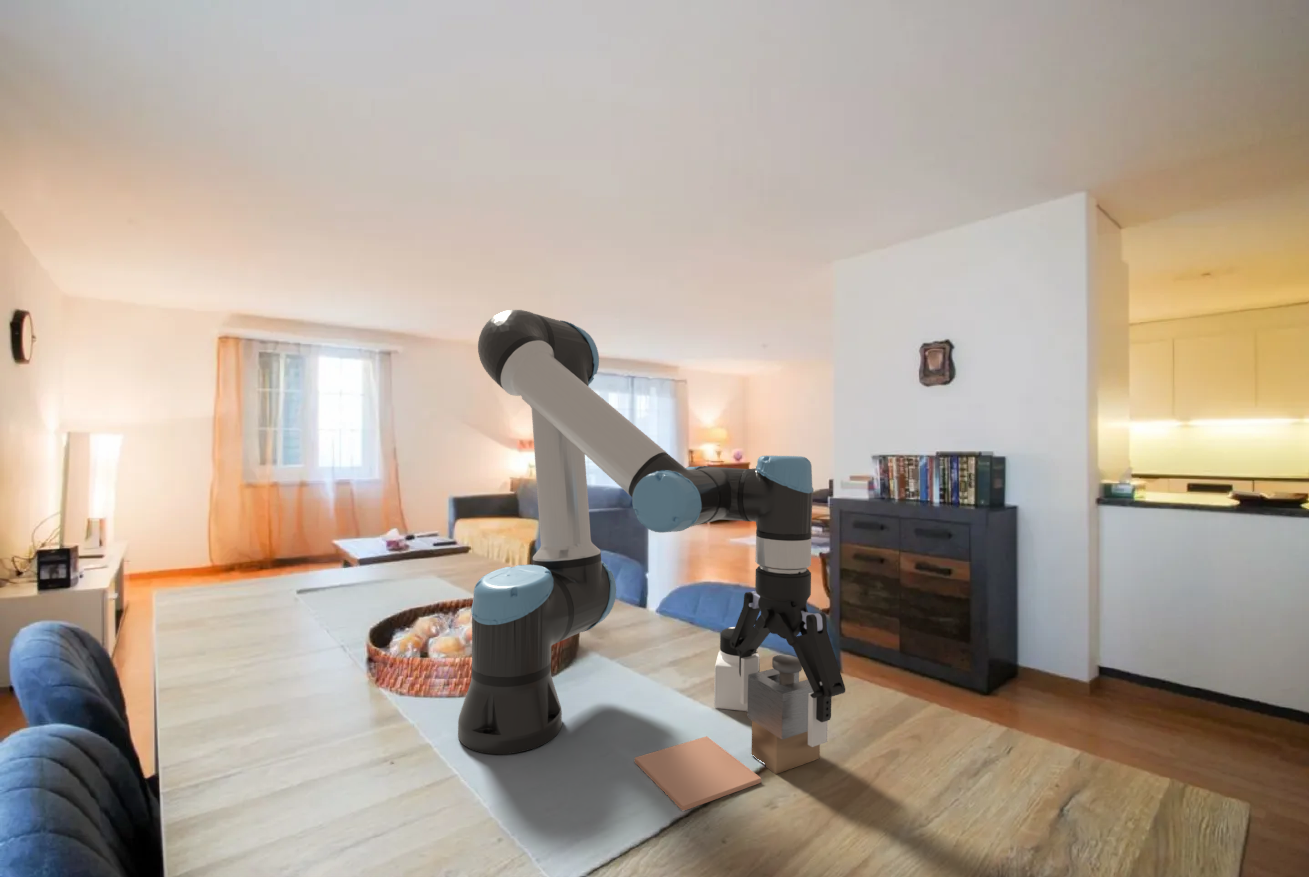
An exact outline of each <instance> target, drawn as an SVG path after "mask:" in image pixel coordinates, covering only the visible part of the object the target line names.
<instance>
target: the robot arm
mask: <svg viewBox="0 0 1309 877" xmlns="http://www.w3.org/2000/svg"><path fill="white" fill-rule="evenodd" d="M477 350H478V351H477V352H478V357H479V361H480V363H481V365H482V367H483V369H484V371H485V372H486V373H487V375H488V376H489V377H490V378H491V379H492V380H493V381H494V382H495V384H497V385H498V386H500V388H501V389H502V390H503V391H505V392H506V393H507V394H509V395H510V396H515V397H516V396H517V397H519V396H520V397H521V400H523V401H524V402H525V403H526V404H527V405H528V406H529V407H530V408H531V419H532V432H533V448H534V450H533V451H534V462H535V463H534V464H535V478H536V491H537V492H536V493H537V506H538V507H537V508H538V522H539V523H538V524H539V537H540V539H539V540H540V547H539V549H537V551H536V552H535V553H534V555H533V556H532V564H517V565H515V566H505V567H501V568H498V569H494V570H493V571H490V572H489V573H487V574H485V575H483V576H482V577H481V578H480V579H479V580H478V581H477V582H476V584H475V586H474V589H473V597H472V600H473V601H472V604H471V607H470V608H471V610H470V611H471V612H470V613H471V678H470V683H469V685H468V686H469V687H468V690H467V691H466V694H465V698H464V700H463V703H462V706H461V710H460V712H459V716H458V719H457V720H458V721H457V722H458V724H457V736H458V740H459V741H460V742H461V744H462V745H463V746H465V747H466V748H468V749H470V750H472V751H475V752H477V753H479V752H480V753H484V754H492V755H508V754H509V755H510V754H516V753H521V752H525V751H530V750H533V749H537V748H539V747H542V746H543V745H545V744H547V743H549V742H551V740H553V739H554V738H555V737H556V736H557V735H558V734H559V733H560V731H561V729H562V723H563V722H562V720H563V719H562V718H563V717H562V715H563V710H562V706H561V703H560V699H559V696H558V693H557V690H556V687H555V683H554V681H553V680H554V679H553V677H552V672H551V670H552V646H553V645H555V644H558V643H560V642H563V641H564V640H567V639H569V638H571V637H573V636H577V634H578V635H579V634H580V633H581V634H582V633H583V632H587V631H590V630H591V629H593V628H595V627H596V625H598V624H600V623H601V622H603V621H605V619H606V618H607V617H608V616H609V615H610V613H611V612H612V610H613V607H614V604H615V602H616V599H617V598H616V597H617V583H616V579H615V577H614V573H613V572H612V570H610V569H609V566H608V565H607V564H606V563H605V562H604V561H603V560H602V553H601V552H602V551H601V549H600V548H598V547H597V546H596V545H595V544H594V543H593V542H592V537H591V522H590V508H589V493H588V481H587V480H588V479H587V468H586V467H587V466H586V457H587V458H589V459H590V460H591V462H593V463H594V464H595V465H596V466H597V467H598V468H600V470H601V471H602V472H604V474H606V475H607V476H608V477H609V478H610V479H611V480H612V481H613V482H614V483H616V484H617V485H618V486H619V487H620V488H621V489H622V490H624V492H626V493H627V494H628V496H630V497H631V498H632V499H631V500H632V501H631V502H632V503H631V504H632V509H633V510H634V514H635V516H636V519H637V521H638V522H639V523H640V524H641V525H643V527H644V528H646V529H647V530H650V531H652V532H655V533H675V532H681V531H685V530H687V529H689V528H692V527H695V526H699V525H702V524H706V523H711V522H715V521H719V520H727V521H744V522H753V523H754V522H755V524H756V525H755V526H756V527H755V528H756V531H755V534H756V535H755V557H754V558H755V563H756V564H757V565H758V566H757V567H756V568H755V580H754V581H755V588H754V589H755V591H754V590H753V591H746V592H744V595H743V605H742V609H741V611H740V614H739V616H738V618H737V622H736V623H735V626H734V627H735V629H734V632H733V634H732V637H731V640H730V647H731V648H735V649H736V650H737V654H738V656H739V674H740V677H741V691H740V702H741V703H742V704H746V703H748V675H749V674H753V673H757V672H758V656H756V655H753V656H752V654H754V653H756V654H759V653H758V652H759V651H758V649H759V648H760V646H761V645H762V644H763V642H764V641H765V639H767V637H768V636H769V635H770V634H773V635H777V636H779V637H780V638H781V639H784V640H786V642H787V644H788V645H789V646H790V647H792V648H793V651H794V653H795V655H796V656H797V658H798V659H799V661H800V664H801V666H802V671H803V672H804V674H805V676H806V680H808V681H809V683H810V685H811V687H812V690H813V692H812V693H809V694H808V745H809V746H811V747H814V746H817V745H820V746H821V745H822V744H825V743H827V742H828V722H829V721H831V718H832V698H833V697H835V696H839V695H842V694H845V693H846V685H845V683H844V680H843V676H842V673H841V671H840V667H839V664H838V660H837V658H836V655H835V651H834V648H833V645H832V642H831V639H830V636H829V633H828V626H827V625H828V624H827V621H828V620H827V615H826V614H825V613H824V612H818V613H817V612H816V613H814V612H813V613H812V612H809V611H808V607H807V602H808V600H809V598H810V597H811V594H812V572H811V571H810V570H809V567H811V566H812V524H813V522H812V520H813V519H812V518H813V495H814V487H813V471H812V469H813V468H812V462H811V461H810V460H809V459H808V458H807V457H805V456H799V455H798V456H797V455H761V456H759V457H758V458H757V460H756V462H757V463H756V466H755V468H754V467H753V468H747V469H746V468H735V467H734V468H732V467H721V466H720V467H717V466H708V465H701V466H699V465H698V466H688V467H685V466H683V465H682V464H681V463H680V462H678V461H677V460H676V459H675V458H674V457H672V456H671V455H670V454H669V453H668V452H667V451H666V450H664V449H663V448H662V447H661V446H660V445H658V444H657V443H656V442H655V441H654V440H652V439H651V438H650V437H649V436H648V435H647V434H645V433H644V432H643V431H642V430H641V429H639V428H638V427H637V426H636V425H635V424H634V423H632V422H631V421H630V420H629V419H628V418H626V417H625V416H624V414H622V413H620V412H619V411H618V410H617V409H616V408H615V407H614V406H612V405H611V404H609V403H608V402H607V401H606V400H605V399H604V398H603V397H601V396H600V395H599V393H597V392H596V391H595V390H593V389H592V388H591V387H590V384H591V383H592V382H593V381H594V379H595V378H594V377H595V375H597V373H598V370H599V365H600V356H599V351H598V347H597V344H596V342H595V341H594V339H593V338H592V336H591V335H590V334H589V333H588V332H587V331H586V330H584V329H583V328H581V327H579V326H577V325H575V324H574V323H571V322H569V321H567V320H566V321H565V320H559V319H555V318H552V317H547V316H544V315H540V314H538V313H534V312H530V311H528V310H522V309H510V310H504V311H501V312H500V313H498V314H495V315H494V316H492V317H491V318H490V319H489V320H488V321H487V322H486V323H485V325H483V328H482V330H481V331H480V334H479V337H478V341H477ZM759 614H760V615H759ZM799 634H800V635H799ZM740 637H741V638H740ZM755 651H756V652H755ZM820 682H822V685H820Z"/></svg>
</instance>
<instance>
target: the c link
mask: <svg viewBox="0 0 1309 877" xmlns="http://www.w3.org/2000/svg"><path fill="white" fill-rule="evenodd" d="M779 675H780V671H777V670H775V669H774V668H770V669H765V670H762V671H761V670H760V672H757V673H753V674H749V675H748V712H747V718H748V719H749V720H751V722H752V721H754V722H755V723H757V724H759V725H760V726H762V727H763V728H765V729H766V730H768V731H769V732H771V733H772V734H774V735H775V736H777V737H778V738H780V739H782V740H783V739H786V738H789V737H792V736H795V735H798V734H801V733H804V732H807V731H808V694H809V693H812V692H813V690H812V687H811V685H810V683H809V681H808V679H805V680H800V672H797V673H794V683H793V684H789V685H785V686H783V685H781V684H779ZM820 685H822V682H820Z"/></svg>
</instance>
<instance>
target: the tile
mask: <svg viewBox="0 0 1309 877" xmlns="http://www.w3.org/2000/svg"><path fill="white" fill-rule="evenodd" d="M634 763H635V764H636V765H637V766H638V767H639V768H640V769H641V770H642V772H644V773H645V774H646V775H647V777H649V778H650V779H651V781H653V782H654V784H656V786H657V787H658V788H659V789H660V790H661V791H662V792H663V791H664V792H665V795H666V796H667V795H668V796H667V797H668V798H669V799H670V800H671V801H672V800H673V801H674V802H675V803H674V802H673V801H672V802H673V803H674V804H675V805H676V806H677V807H678V808H679V809H680V810H681V811H682V812H685V811H687V810H690V809H693V808H696V807H699V806H701V805H703V804H706V803H709V802H712V801H714V800H717V799H720V798H722V797H723V798H724V797H725V796H728V795H731V794H733V793H734V794H735V793H736V792H739V791H742V790H744V789H748V788H750V787H753V786H755V785H758V784H760V783H762V778H761V777H760V776H759V775H758V774H756V772H754V771H753V770H752V769H750V768H749V767H748V766H746V765H745V764H744V763H742V762H741V761H740V760H738V759H737V758H736V757H735V756H733V755H732V754H731V753H729V752H728V751H727V750H726V749H724V748H723V747H721V745H719V744H718V743H717V742H715V741H714V740H712V739H711V738H710V737H709V736H707V735H706V736H703V737H700V738H696V739H694V740H690V741H689V740H688V741H686V742H683V743H680V744H676V745H672V746H669V747H666V748H662V749H658V750H656V751H652V752H649V753H645V754H643V755H639V756H635V757H634ZM664 792H663V793H664ZM684 810H685V811H684Z"/></svg>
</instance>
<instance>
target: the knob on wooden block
mask: <svg viewBox="0 0 1309 877" xmlns="http://www.w3.org/2000/svg"><path fill="white" fill-rule="evenodd" d="M771 667H772V669H775V670H777V671H780V675H779V684H781V685H783V686H785V685H789V684H793V683H794V673H797V672H799V673H800V672H801V671H803V668H802V666H801V664H800V661H799V659H798V657H796V656H793V655H788V654H778V655H775V656H773V657H772V665H771ZM750 754H752V755H754V756H755V757H756V758H757V759H759V760H761V761H762V762H764V763H765V765H766V769H768V770H769V771H771V772H772V773H774V774H775V775H778V774H780V773H783V772H785V771H789V770H792V769H793V768H798V767H800V766H803V765H805V764H808V763H811V762H813V761H816V760H819V759H820V755H821V744H820V745H817V746H814V747H811V746H809V745H808V731H807V732H804V733H801V734H798V735H795V736H792V737H789V738H786V739H783V740H782V739H780V738H778V737H777V736H775V735H774V734H772V733H771V732H769V731H768V730H766V729H765V728H763V727H762V726H760V725H759V724H757V723H755V722H754V721H752V720H751V753H750Z"/></svg>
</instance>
